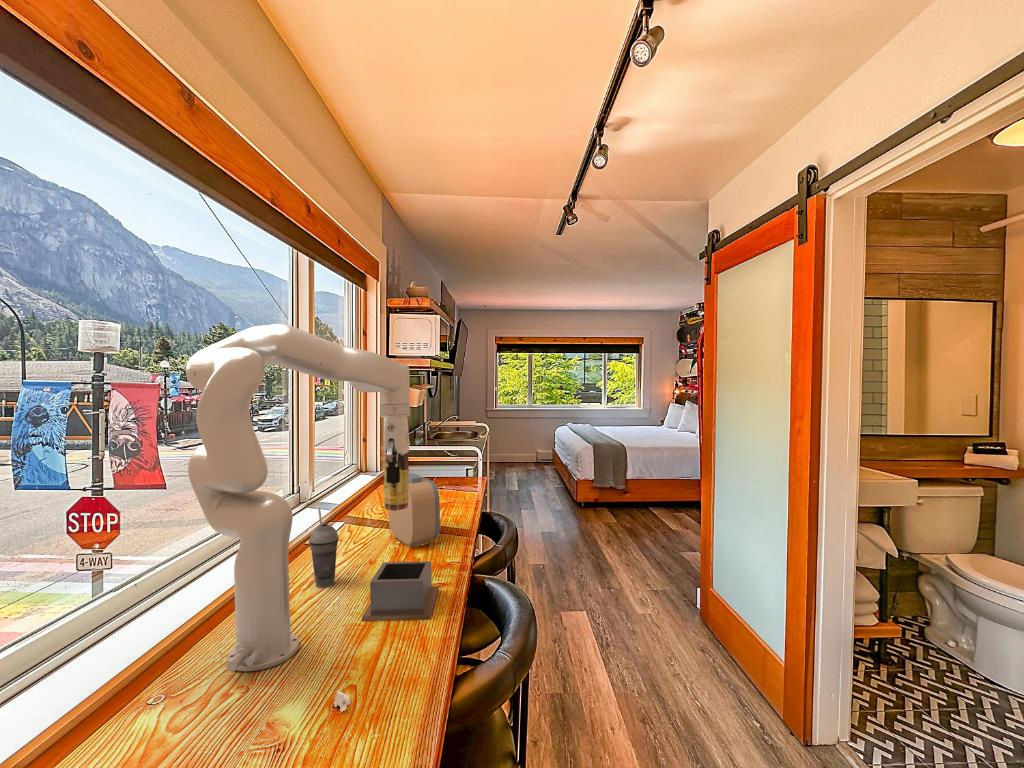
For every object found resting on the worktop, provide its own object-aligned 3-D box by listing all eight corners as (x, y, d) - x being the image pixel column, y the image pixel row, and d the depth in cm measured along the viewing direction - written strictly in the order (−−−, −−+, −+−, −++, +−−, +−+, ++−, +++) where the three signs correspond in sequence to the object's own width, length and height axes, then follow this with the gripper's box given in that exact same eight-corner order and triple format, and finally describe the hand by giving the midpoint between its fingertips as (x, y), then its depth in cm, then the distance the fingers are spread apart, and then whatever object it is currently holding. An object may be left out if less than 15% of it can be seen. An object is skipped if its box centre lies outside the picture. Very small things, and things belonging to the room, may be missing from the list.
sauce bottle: (379, 508, 131) (378, 432, 131) (399, 504, 136) (398, 430, 136) (393, 512, 127) (392, 433, 127) (414, 508, 131) (413, 431, 131)
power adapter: (331, 711, 82) (331, 692, 82) (344, 702, 84) (344, 684, 84) (343, 718, 80) (343, 698, 80) (357, 708, 82) (356, 689, 82)
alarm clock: (441, 546, 160) (439, 478, 160) (413, 552, 155) (411, 482, 154) (415, 530, 177) (413, 468, 177) (388, 535, 172) (387, 472, 171)
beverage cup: (329, 591, 127) (328, 512, 127) (304, 589, 129) (302, 511, 128) (345, 579, 134) (343, 505, 134) (320, 577, 136) (318, 504, 136)
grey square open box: (429, 619, 111) (429, 583, 111) (361, 620, 111) (361, 585, 111) (439, 590, 126) (438, 558, 126) (379, 591, 126) (378, 560, 126)
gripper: (403, 412, 122) (404, 486, 122) (415, 408, 140) (416, 473, 140) (372, 413, 122) (373, 487, 122) (388, 409, 140) (389, 474, 140)
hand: (396, 479), depth 131 cm, fingers closed on sauce bottle, 6 cm apart
